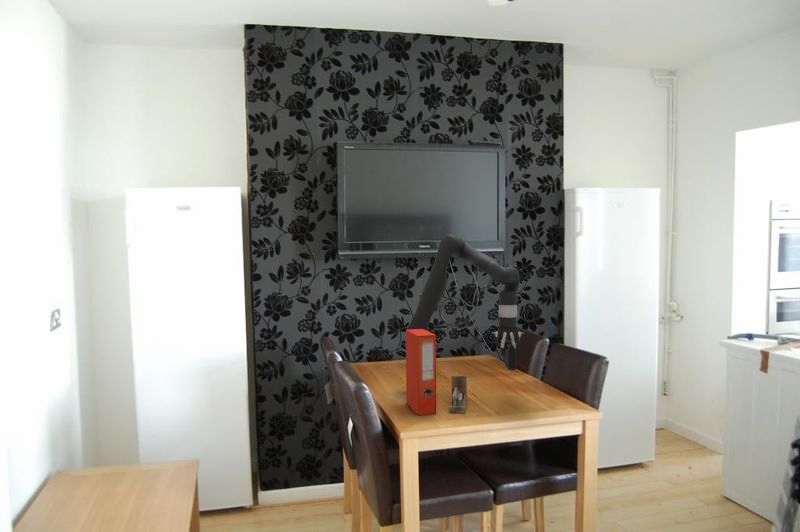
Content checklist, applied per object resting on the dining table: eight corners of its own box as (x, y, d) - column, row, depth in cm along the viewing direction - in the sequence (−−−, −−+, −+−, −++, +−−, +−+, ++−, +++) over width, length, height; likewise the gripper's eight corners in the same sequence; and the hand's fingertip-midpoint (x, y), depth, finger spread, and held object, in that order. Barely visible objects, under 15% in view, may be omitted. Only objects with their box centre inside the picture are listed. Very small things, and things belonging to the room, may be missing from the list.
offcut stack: (453, 410, 234) (452, 396, 233) (455, 401, 247) (454, 387, 247) (461, 410, 233) (461, 396, 233) (462, 401, 247) (462, 387, 247)
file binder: (424, 402, 246) (423, 328, 245) (437, 413, 229) (435, 334, 228) (406, 404, 244) (405, 329, 243) (417, 415, 227) (416, 336, 226)
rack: (448, 413, 230) (448, 388, 229) (452, 398, 252) (451, 375, 251) (465, 413, 229) (464, 388, 228) (466, 398, 251) (466, 375, 250)
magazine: (517, 351, 218) (509, 318, 246) (508, 351, 218) (501, 318, 246) (516, 390, 224) (508, 353, 252) (507, 390, 224) (500, 353, 252)
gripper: (524, 314, 238) (524, 355, 239) (490, 314, 240) (490, 354, 241) (526, 316, 231) (526, 358, 232) (490, 316, 233) (491, 358, 234)
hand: (508, 356), depth 236 cm, fingers closed on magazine, 3 cm apart
